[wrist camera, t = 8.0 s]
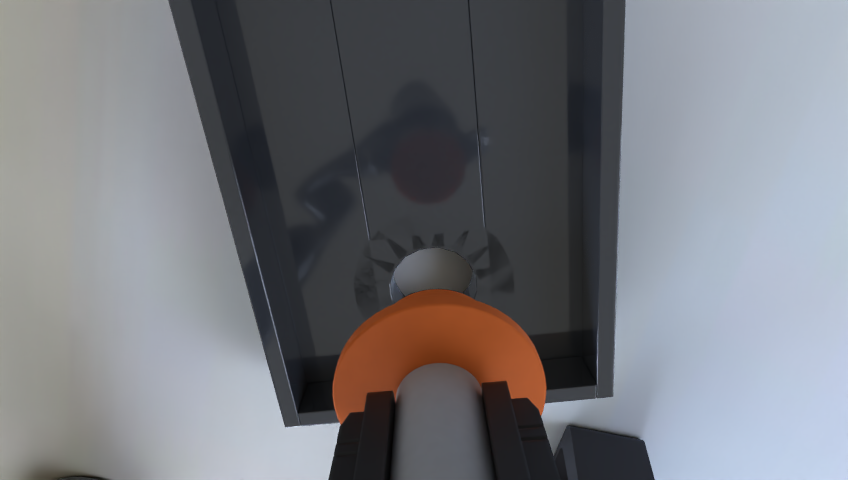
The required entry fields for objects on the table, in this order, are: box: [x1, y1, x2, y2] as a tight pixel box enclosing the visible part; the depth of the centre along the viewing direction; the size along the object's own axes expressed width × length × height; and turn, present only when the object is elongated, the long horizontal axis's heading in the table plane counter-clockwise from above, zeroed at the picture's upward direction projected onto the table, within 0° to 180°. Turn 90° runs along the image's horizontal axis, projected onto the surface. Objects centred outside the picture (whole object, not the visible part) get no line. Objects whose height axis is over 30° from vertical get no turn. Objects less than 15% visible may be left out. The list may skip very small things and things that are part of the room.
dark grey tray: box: [168, 0, 625, 427], centre depth 27 cm, size 20×26×3 cm
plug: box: [333, 289, 546, 480], centre depth 14 cm, size 6×6×8 cm
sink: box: [215, 0, 583, 383], centre depth 29 cm, size 20×26×2 cm
